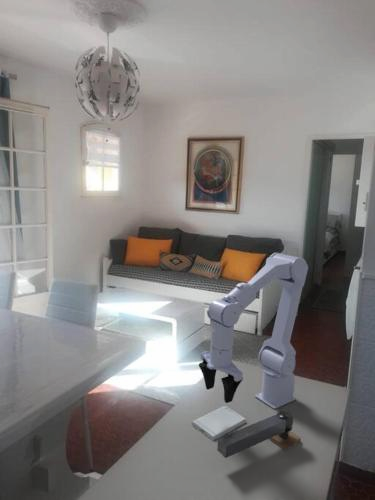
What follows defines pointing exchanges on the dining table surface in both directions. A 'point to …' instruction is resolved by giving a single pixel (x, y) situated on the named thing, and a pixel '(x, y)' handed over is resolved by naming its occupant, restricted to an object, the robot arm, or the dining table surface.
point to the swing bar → (255, 433)
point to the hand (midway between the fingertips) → (218, 394)
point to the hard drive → (218, 422)
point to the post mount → (286, 439)
